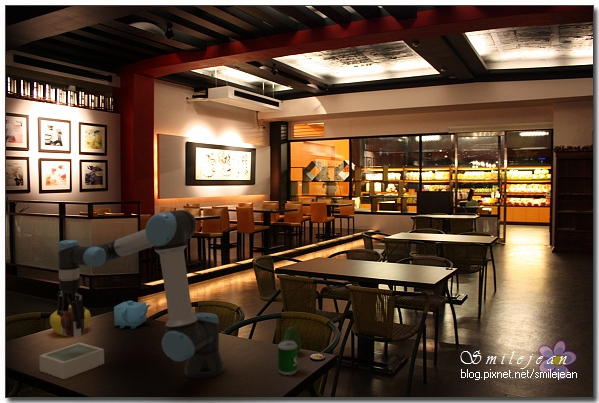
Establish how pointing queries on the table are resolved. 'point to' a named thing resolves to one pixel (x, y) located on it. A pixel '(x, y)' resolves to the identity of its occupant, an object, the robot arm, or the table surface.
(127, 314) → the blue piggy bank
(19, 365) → the table surface
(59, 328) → the vase
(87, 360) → the rectangular box
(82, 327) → the mug
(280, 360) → the soda can
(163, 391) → the table surface
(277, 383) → the table surface
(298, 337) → the fruit
